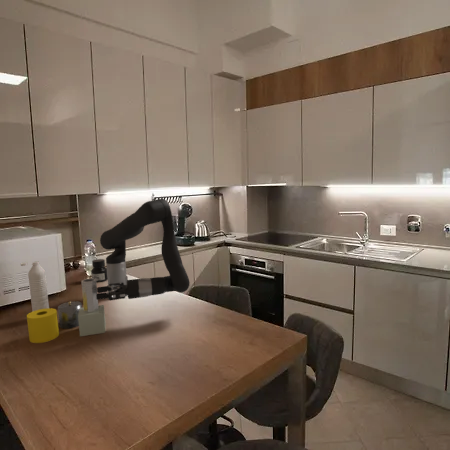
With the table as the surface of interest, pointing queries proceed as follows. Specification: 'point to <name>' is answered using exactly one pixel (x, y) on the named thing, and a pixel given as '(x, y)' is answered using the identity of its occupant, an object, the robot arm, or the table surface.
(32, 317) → the yellow toilet paper roll
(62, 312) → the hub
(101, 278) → the ink bottle
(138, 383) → the table surface
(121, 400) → the table surface
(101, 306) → the sage stand
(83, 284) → the sleeve
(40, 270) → the water bottle
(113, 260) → the robot arm
